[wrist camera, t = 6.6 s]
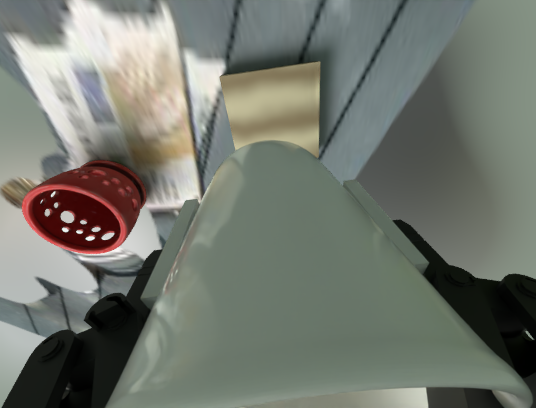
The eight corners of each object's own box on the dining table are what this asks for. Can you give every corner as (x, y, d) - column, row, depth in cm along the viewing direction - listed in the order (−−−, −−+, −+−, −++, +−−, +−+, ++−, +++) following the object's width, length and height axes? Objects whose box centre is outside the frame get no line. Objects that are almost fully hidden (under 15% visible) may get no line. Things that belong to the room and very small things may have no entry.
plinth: (221, 75, 31) (219, 76, 29) (314, 61, 31) (320, 61, 29) (240, 161, 39) (239, 168, 37) (314, 151, 39) (318, 157, 37)
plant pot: (152, 217, 45) (125, 262, 35) (81, 202, 42) (29, 246, 32) (157, 165, 39) (126, 201, 29) (74, 141, 35) (6, 173, 25)
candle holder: (364, 149, 14) (667, 385, 4) (306, 252, 19) (369, 464, 9) (210, 103, 11) (-36, 375, 2) (193, 233, 17) (109, 488, 7)
